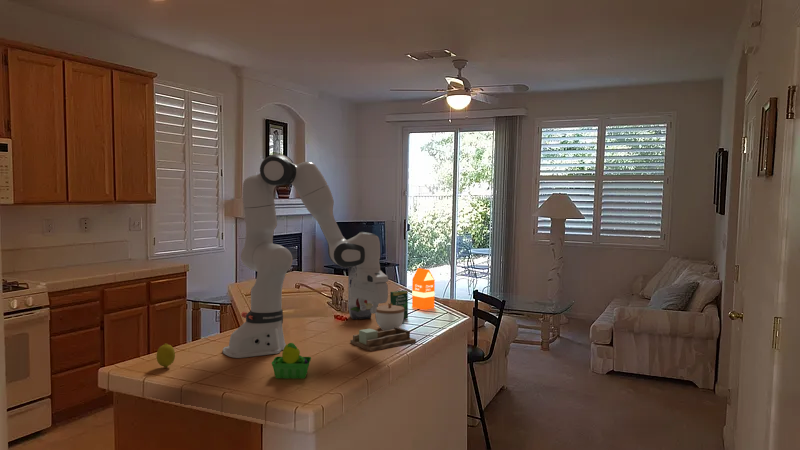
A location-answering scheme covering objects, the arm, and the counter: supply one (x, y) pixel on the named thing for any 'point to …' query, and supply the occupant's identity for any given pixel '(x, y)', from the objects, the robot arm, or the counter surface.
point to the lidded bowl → (389, 316)
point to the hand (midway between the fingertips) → (368, 311)
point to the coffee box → (400, 300)
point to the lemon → (165, 355)
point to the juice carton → (356, 300)
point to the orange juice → (423, 289)
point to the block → (367, 335)
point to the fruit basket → (291, 363)
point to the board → (385, 339)
